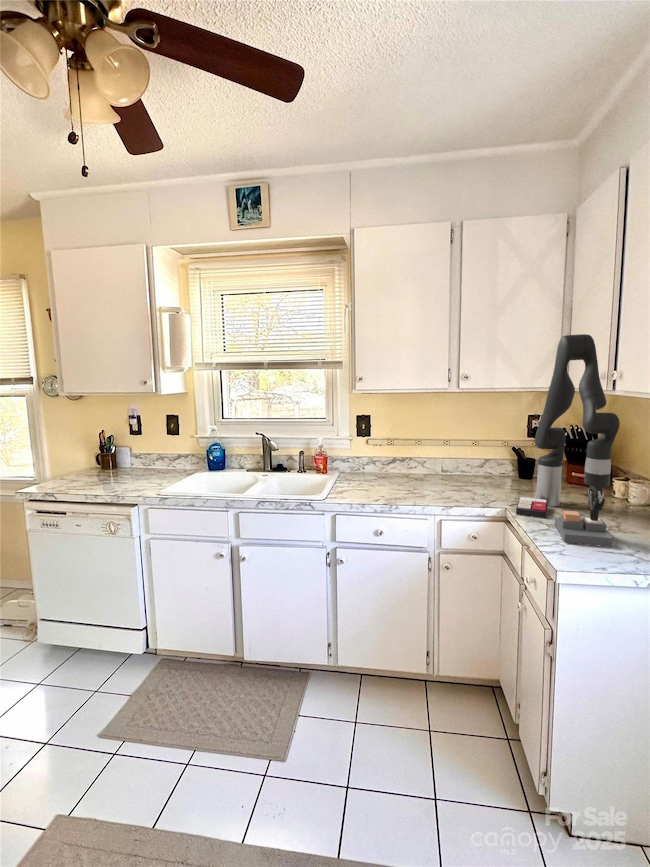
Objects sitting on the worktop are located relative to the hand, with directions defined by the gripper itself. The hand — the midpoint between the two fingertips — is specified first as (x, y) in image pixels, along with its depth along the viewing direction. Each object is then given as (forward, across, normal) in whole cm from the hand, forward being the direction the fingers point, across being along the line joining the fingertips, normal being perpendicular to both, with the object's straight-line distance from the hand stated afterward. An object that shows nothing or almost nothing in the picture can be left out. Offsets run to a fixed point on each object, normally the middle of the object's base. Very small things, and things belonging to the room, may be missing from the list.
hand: (593, 519), depth 154 cm
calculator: (+6, -25, -16) cm, 30 cm away
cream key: (+3, 0, 0) cm, 3 cm away
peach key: (+1, 0, -7) cm, 7 cm away
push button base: (+6, 0, -4) cm, 7 cm away
